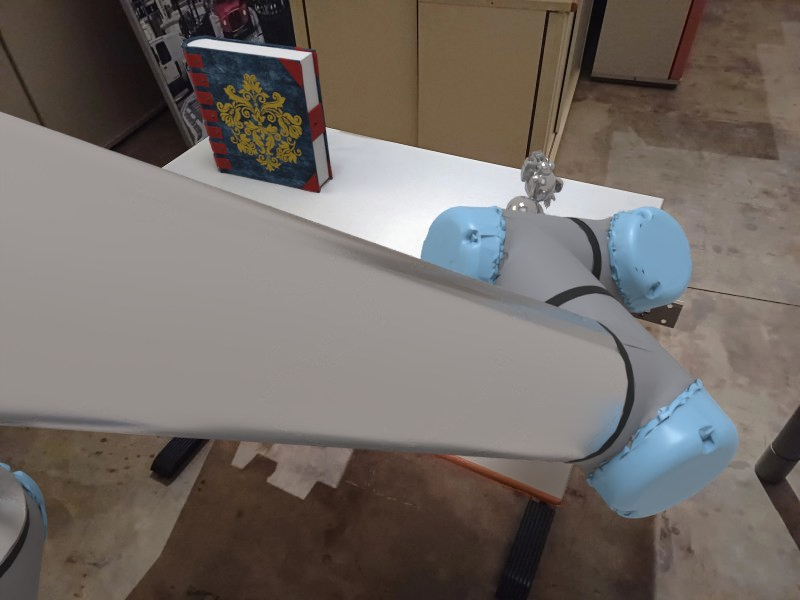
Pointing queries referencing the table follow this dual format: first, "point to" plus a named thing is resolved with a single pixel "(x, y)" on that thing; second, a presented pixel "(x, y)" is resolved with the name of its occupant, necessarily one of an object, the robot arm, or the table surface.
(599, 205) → the table surface
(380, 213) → the table surface
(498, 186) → the table surface
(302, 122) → the book
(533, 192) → the robot toy
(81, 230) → the robot arm
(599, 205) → the table surface
